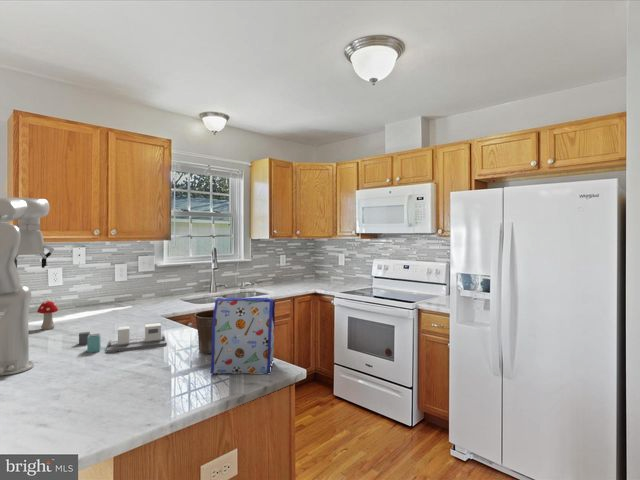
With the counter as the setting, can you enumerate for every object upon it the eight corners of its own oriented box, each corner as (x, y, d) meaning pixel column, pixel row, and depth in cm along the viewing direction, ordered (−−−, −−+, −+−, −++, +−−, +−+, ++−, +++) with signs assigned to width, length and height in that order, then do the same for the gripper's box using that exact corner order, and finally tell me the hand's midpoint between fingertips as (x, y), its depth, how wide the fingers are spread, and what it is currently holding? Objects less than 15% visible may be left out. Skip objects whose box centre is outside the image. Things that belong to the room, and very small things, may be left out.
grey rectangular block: (89, 343, 171) (89, 333, 171) (79, 345, 169) (78, 334, 169) (89, 342, 174) (89, 331, 174) (79, 343, 172) (79, 332, 172)
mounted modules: (161, 339, 171) (160, 325, 171) (117, 344, 163) (117, 330, 163) (160, 336, 176) (160, 323, 176) (118, 341, 168) (118, 327, 168)
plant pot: (240, 348, 164) (240, 312, 164) (213, 358, 150) (213, 319, 150) (214, 342, 172) (214, 308, 172) (186, 352, 158) (186, 314, 158)
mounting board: (166, 345, 168) (166, 342, 168) (106, 353, 157) (106, 350, 157) (164, 338, 181) (164, 335, 181) (108, 344, 170) (108, 341, 170)
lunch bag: (276, 360, 148) (276, 294, 148) (273, 375, 131) (273, 301, 131) (219, 361, 147) (219, 294, 147) (209, 377, 130) (208, 301, 130)
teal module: (99, 351, 160) (99, 335, 160) (87, 352, 158) (87, 337, 158) (100, 348, 165) (100, 332, 165) (88, 349, 163) (88, 334, 163)
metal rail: (164, 340, 172) (164, 336, 172) (108, 346, 162) (108, 342, 162) (164, 338, 176) (164, 334, 176) (108, 344, 165) (108, 340, 165)
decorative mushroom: (33, 329, 197) (33, 301, 197) (49, 326, 205) (49, 299, 205) (46, 331, 194) (46, 303, 193) (62, 327, 202) (62, 300, 202)
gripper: (0, 228, 151) (1, 269, 151) (52, 228, 159) (52, 268, 159) (5, 228, 157) (5, 268, 157) (54, 228, 166) (55, 266, 166)
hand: (29, 268), depth 158 cm, fingers open, 9 cm apart
